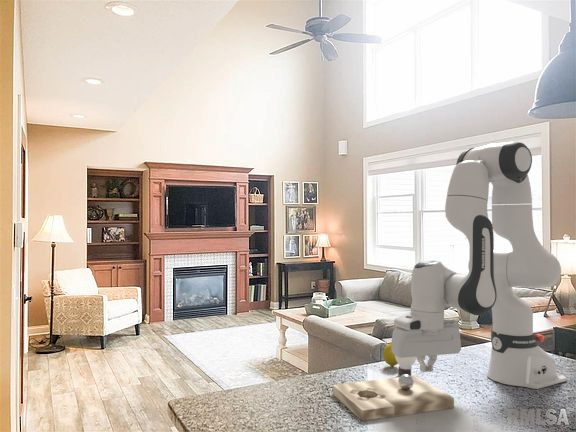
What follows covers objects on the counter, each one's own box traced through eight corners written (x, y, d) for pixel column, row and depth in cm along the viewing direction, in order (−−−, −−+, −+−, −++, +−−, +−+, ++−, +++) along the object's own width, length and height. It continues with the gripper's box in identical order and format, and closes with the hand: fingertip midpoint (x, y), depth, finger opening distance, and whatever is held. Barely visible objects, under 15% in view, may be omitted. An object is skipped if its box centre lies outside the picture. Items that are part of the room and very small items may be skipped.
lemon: (401, 370, 149) (401, 345, 149) (383, 369, 150) (383, 344, 150) (400, 364, 155) (400, 340, 155) (383, 363, 156) (383, 339, 156)
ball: (408, 386, 128) (408, 371, 128) (416, 391, 124) (416, 376, 124) (395, 387, 127) (395, 372, 127) (403, 392, 123) (403, 377, 123)
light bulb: (389, 373, 146) (389, 338, 146) (406, 370, 149) (406, 335, 149) (404, 379, 140) (404, 343, 140) (421, 376, 143) (421, 340, 143)
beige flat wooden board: (414, 384, 137) (414, 375, 137) (454, 407, 119) (454, 397, 119) (332, 394, 129) (332, 385, 129) (362, 420, 111) (362, 410, 111)
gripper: (451, 316, 134) (450, 365, 133) (388, 319, 127) (388, 370, 127) (466, 321, 128) (465, 371, 127) (401, 324, 121) (400, 377, 121)
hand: (426, 371), depth 127 cm, fingers closed
